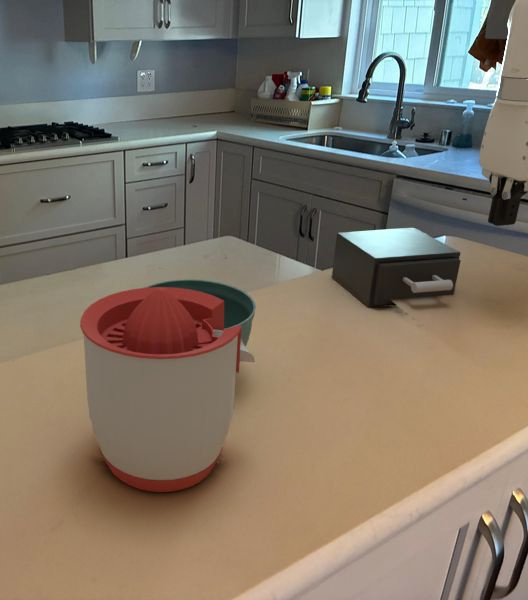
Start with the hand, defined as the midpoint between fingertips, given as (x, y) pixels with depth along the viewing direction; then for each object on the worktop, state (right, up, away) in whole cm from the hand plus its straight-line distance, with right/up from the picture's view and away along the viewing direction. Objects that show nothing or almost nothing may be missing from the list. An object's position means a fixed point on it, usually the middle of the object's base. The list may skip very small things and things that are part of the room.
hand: (501, 223), depth 89 cm
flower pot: (-46, -22, -7) cm, 51 cm away
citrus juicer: (-50, -28, -22) cm, 62 cm away
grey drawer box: (-9, -9, +18) cm, 22 cm away
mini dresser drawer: (-8, -10, +14) cm, 19 cm away
